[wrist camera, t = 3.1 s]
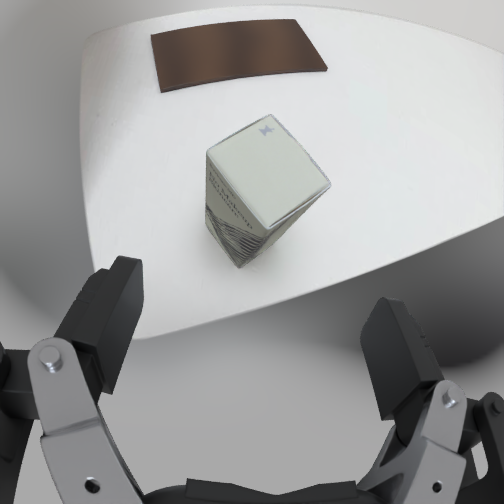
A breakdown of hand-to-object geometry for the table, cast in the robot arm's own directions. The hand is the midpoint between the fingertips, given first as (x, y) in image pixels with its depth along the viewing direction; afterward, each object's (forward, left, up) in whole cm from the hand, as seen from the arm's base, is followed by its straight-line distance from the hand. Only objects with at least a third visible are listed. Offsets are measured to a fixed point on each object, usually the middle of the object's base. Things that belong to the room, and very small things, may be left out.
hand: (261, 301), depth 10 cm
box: (+3, +6, -16) cm, 17 cm away
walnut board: (+9, +29, -16) cm, 34 cm away
